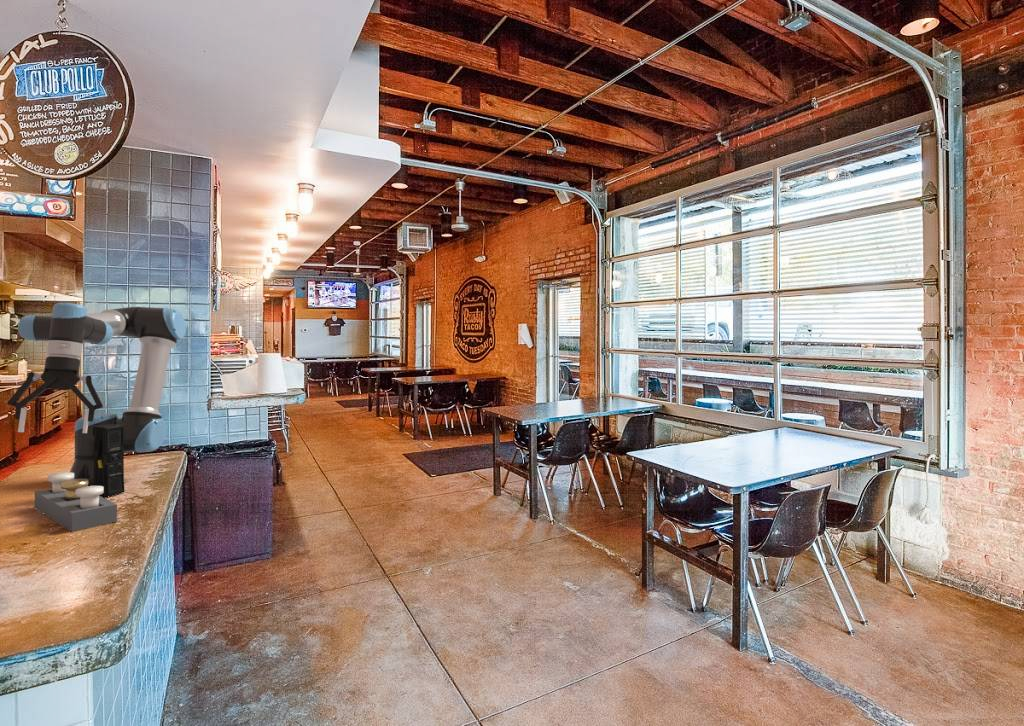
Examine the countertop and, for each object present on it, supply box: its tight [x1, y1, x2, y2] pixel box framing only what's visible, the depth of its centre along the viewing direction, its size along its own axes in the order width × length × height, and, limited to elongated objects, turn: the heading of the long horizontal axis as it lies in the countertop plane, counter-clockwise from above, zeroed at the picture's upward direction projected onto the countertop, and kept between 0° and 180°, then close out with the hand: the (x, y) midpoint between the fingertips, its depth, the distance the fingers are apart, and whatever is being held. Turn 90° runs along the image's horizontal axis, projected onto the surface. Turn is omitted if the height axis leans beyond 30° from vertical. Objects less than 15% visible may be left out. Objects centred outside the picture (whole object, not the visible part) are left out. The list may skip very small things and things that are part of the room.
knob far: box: [76, 485, 104, 510], centre depth 144 cm, size 6×6×6 cm
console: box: [34, 488, 118, 532], centre depth 151 cm, size 10×30×5 cm, turn 56°
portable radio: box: [92, 417, 125, 498], centre depth 169 cm, size 8×6×25 cm
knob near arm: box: [47, 471, 74, 494], centre depth 157 cm, size 6×6×6 cm
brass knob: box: [61, 479, 88, 501], centre depth 150 cm, size 6×6×6 cm
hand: (53, 432), depth 146 cm, fingers open, 13 cm apart
